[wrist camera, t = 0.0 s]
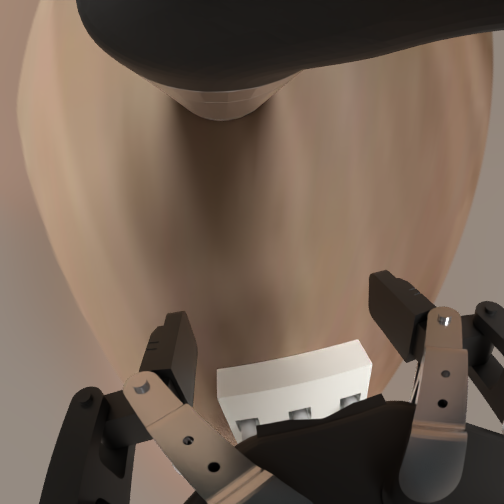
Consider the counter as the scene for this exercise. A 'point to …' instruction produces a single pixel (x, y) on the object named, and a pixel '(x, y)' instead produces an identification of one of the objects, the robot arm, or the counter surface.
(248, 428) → the charcoal knob
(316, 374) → the mounting board
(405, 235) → the counter surface
